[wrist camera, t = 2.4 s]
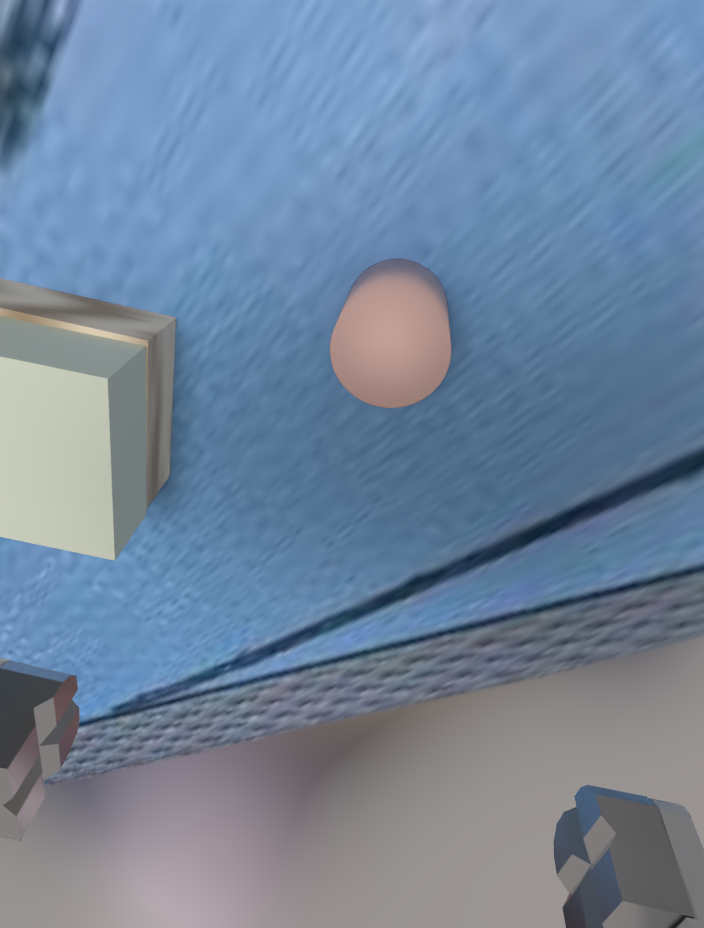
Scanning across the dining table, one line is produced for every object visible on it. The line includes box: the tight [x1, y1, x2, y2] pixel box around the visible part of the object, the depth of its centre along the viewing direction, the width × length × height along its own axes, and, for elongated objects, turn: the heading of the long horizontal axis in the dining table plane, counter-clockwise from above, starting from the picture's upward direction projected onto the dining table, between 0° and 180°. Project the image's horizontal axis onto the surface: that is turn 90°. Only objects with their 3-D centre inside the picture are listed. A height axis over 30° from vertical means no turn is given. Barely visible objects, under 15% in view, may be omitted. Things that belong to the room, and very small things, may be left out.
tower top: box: [0, 316, 147, 560], centre depth 30 cm, size 10×10×4 cm
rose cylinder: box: [330, 259, 451, 408], centre depth 28 cm, size 5×5×6 cm
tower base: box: [0, 278, 176, 508], centre depth 33 cm, size 10×10×4 cm
